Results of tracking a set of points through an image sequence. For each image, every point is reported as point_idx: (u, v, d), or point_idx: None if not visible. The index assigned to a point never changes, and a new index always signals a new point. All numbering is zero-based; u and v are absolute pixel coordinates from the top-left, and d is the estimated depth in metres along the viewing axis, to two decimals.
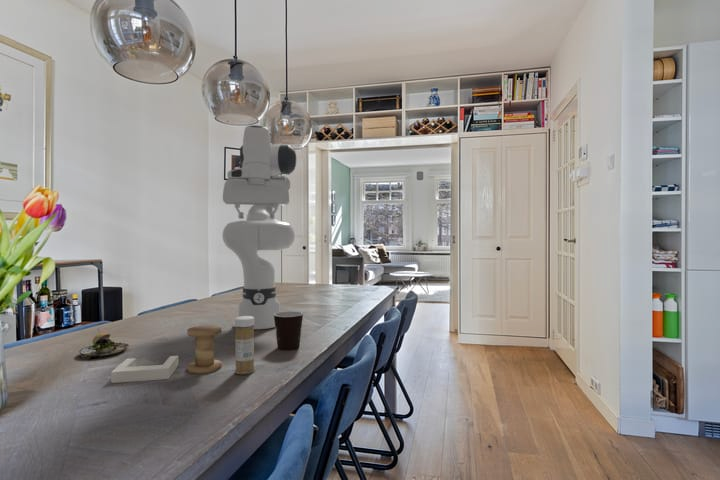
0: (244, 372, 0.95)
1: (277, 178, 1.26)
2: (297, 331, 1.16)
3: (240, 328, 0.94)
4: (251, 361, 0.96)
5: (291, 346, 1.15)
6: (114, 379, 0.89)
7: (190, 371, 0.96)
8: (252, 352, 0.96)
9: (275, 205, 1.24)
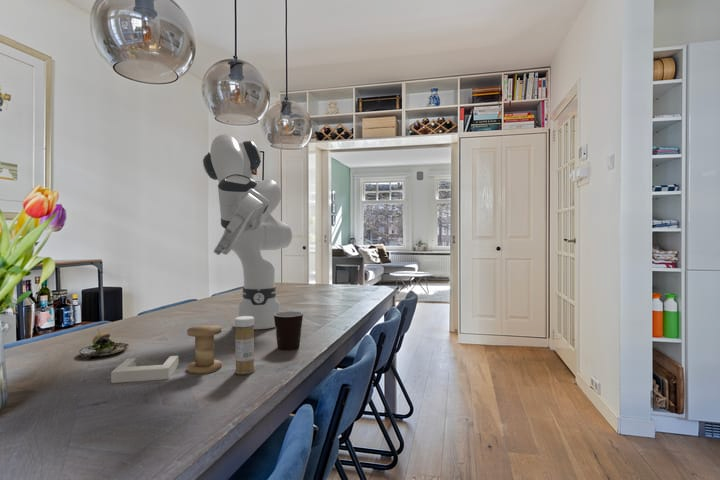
0: (244, 372, 0.95)
1: None
2: (297, 331, 1.16)
3: (240, 328, 0.94)
4: (251, 361, 0.96)
5: (291, 346, 1.15)
6: (114, 379, 0.89)
7: (190, 371, 0.96)
8: (252, 352, 0.96)
9: (226, 247, 1.09)
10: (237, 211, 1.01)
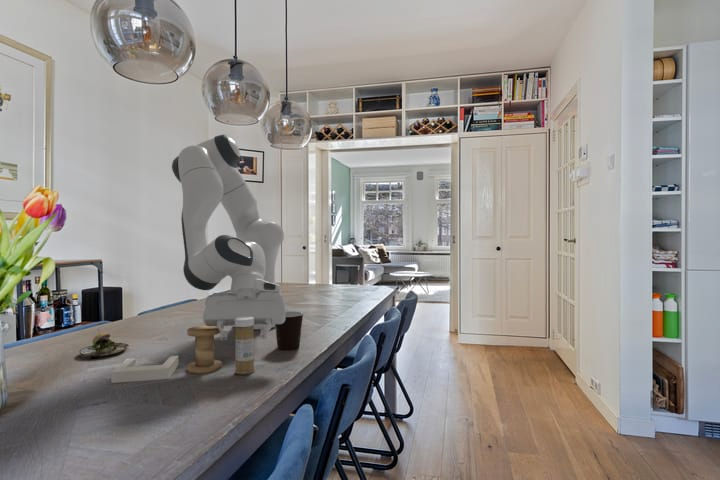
0: (244, 372, 0.95)
1: None
2: (297, 331, 1.16)
3: (240, 328, 0.94)
4: (251, 361, 0.96)
5: (291, 346, 1.15)
6: (114, 379, 0.89)
7: (190, 371, 0.96)
8: (252, 352, 0.96)
9: None
10: (274, 318, 1.00)
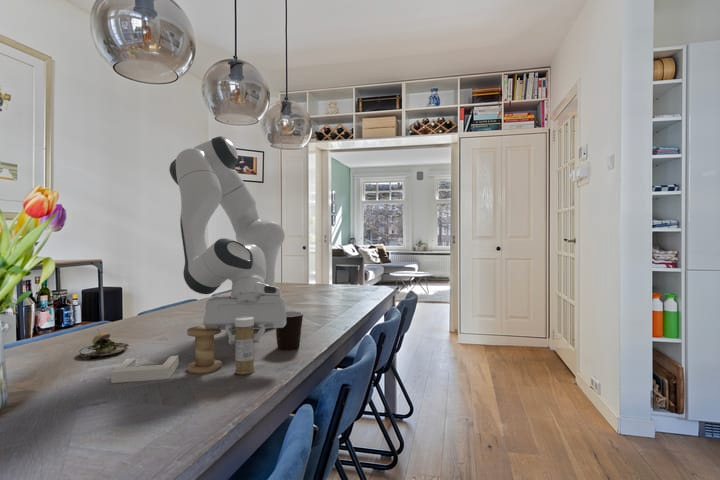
0: (244, 372, 0.94)
1: None
2: (297, 331, 1.16)
3: (240, 328, 0.94)
4: (251, 361, 0.96)
5: (291, 346, 1.15)
6: (114, 379, 0.89)
7: (190, 371, 0.96)
8: (252, 352, 0.96)
9: None
10: (275, 321, 1.00)
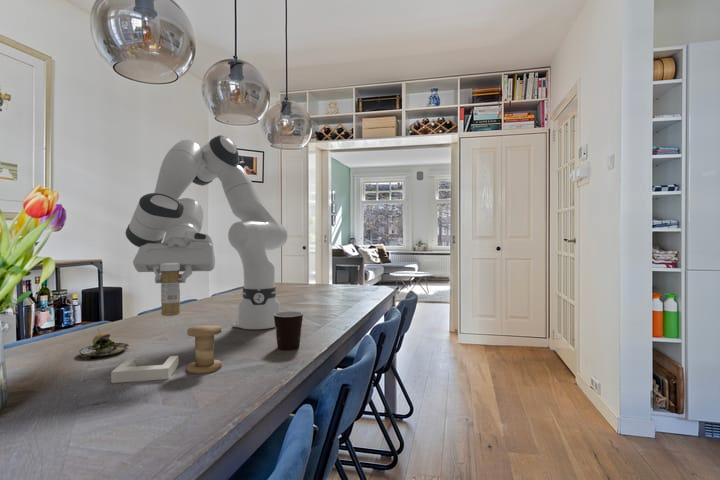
0: (168, 313, 1.01)
1: None
2: (297, 331, 1.16)
3: (165, 272, 1.01)
4: (176, 304, 1.02)
5: (291, 346, 1.15)
6: (114, 379, 0.89)
7: (190, 371, 0.96)
8: (177, 295, 1.02)
9: None
10: (201, 264, 1.06)
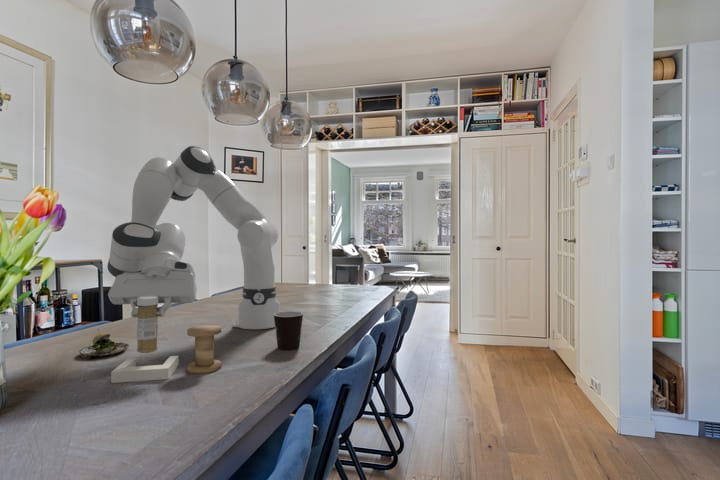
0: (145, 351, 0.95)
1: None
2: (297, 331, 1.16)
3: (142, 307, 0.95)
4: (153, 340, 0.96)
5: (291, 346, 1.15)
6: (114, 379, 0.89)
7: (190, 371, 0.96)
8: (154, 331, 0.96)
9: None
10: (181, 296, 1.00)
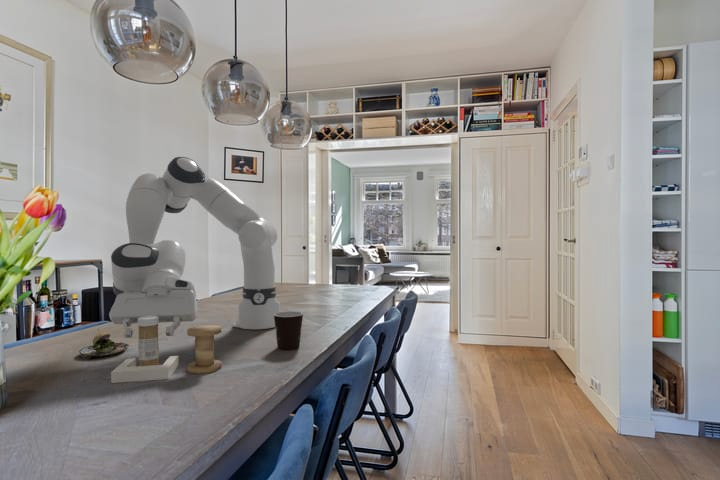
0: None
1: None
2: (297, 331, 1.16)
3: (142, 328, 0.95)
4: (154, 360, 0.96)
5: (291, 346, 1.15)
6: (114, 379, 0.89)
7: (190, 371, 0.96)
8: (155, 351, 0.97)
9: None
10: (182, 315, 1.00)
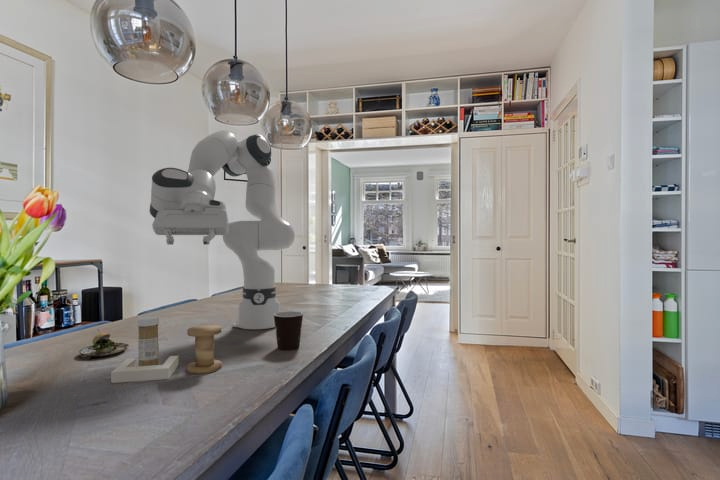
0: None
1: None
2: (297, 331, 1.16)
3: (142, 328, 0.95)
4: (154, 360, 0.96)
5: (291, 346, 1.15)
6: (114, 379, 0.89)
7: (190, 371, 0.96)
8: (155, 351, 0.97)
9: None
10: (217, 228, 1.12)
